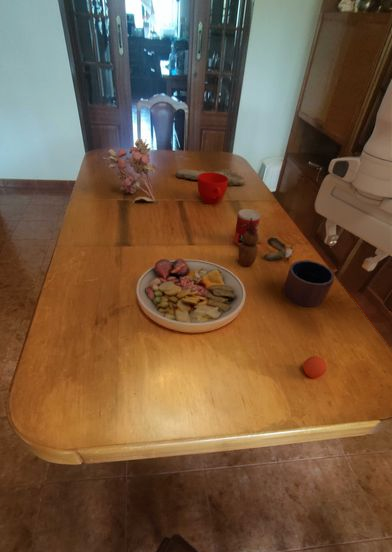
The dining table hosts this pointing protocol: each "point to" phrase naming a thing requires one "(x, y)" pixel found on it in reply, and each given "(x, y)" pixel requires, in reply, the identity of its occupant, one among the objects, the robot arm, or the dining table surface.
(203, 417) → the dining table surface
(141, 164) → the flower
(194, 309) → the bowl
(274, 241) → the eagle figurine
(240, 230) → the canned food
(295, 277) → the pot
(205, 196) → the ceramic cup
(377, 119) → the robot arm
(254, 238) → the wooden figurine
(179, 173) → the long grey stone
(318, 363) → the ball
